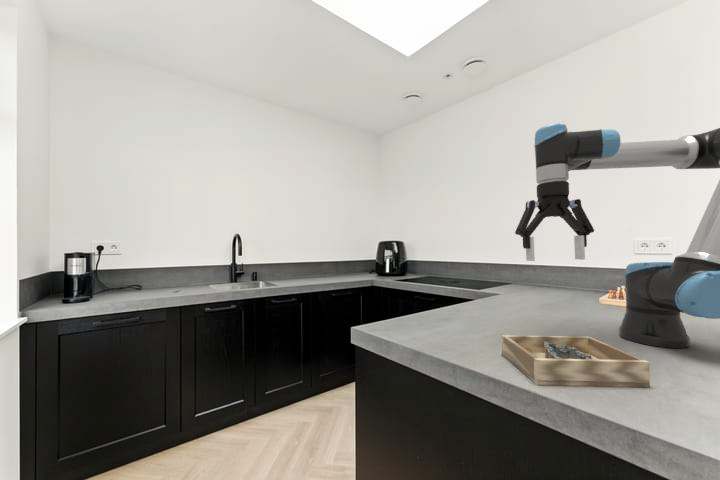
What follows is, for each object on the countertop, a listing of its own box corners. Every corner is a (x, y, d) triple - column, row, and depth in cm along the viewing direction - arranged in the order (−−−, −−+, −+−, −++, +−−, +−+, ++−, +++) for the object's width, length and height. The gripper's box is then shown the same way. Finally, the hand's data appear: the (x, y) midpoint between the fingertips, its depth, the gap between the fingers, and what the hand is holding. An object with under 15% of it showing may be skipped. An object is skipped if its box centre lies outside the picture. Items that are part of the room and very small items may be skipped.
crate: (589, 356, 78) (589, 336, 78) (649, 387, 61) (649, 362, 61) (501, 354, 79) (501, 335, 79) (536, 384, 62) (536, 360, 62)
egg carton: (594, 376, 63) (594, 357, 63) (552, 371, 66) (552, 352, 66) (578, 358, 73) (578, 341, 73) (542, 354, 76) (542, 338, 76)
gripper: (587, 184, 87) (590, 258, 87) (500, 186, 87) (503, 260, 87) (608, 178, 80) (612, 259, 79) (514, 180, 80) (516, 261, 79)
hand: (555, 260), depth 83 cm, fingers open, 13 cm apart
